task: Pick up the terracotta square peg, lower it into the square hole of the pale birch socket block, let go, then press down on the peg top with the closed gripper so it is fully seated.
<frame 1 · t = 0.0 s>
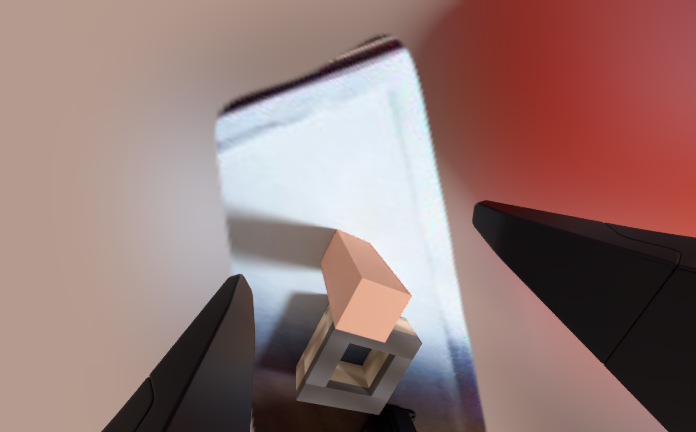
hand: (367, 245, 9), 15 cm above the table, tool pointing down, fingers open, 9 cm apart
square peg: (345, 252, 26), on the table
socket block: (352, 342, 29), on the table
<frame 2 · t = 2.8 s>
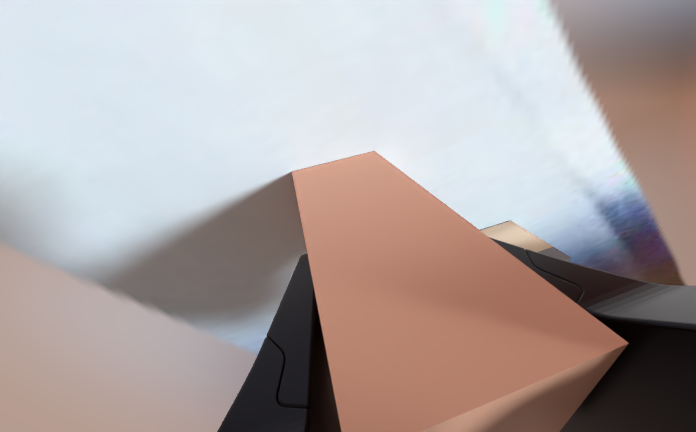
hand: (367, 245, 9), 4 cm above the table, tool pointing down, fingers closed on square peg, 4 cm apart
square peg: (341, 198, 13), on the table, touching gripper
socket block: (441, 293, 19), on the table
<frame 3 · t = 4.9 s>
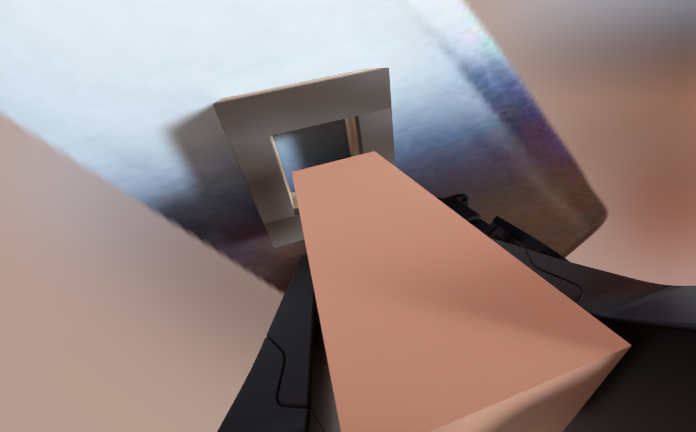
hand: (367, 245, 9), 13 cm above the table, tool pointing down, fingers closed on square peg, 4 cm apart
square peg: (341, 198, 12), point 9 cm above the table, touching gripper
socket block: (315, 152, 20), on the table
when the fingers open (5 cm above the table, at t = 7.3 s): square peg drops 1 cm, resting in socket block.
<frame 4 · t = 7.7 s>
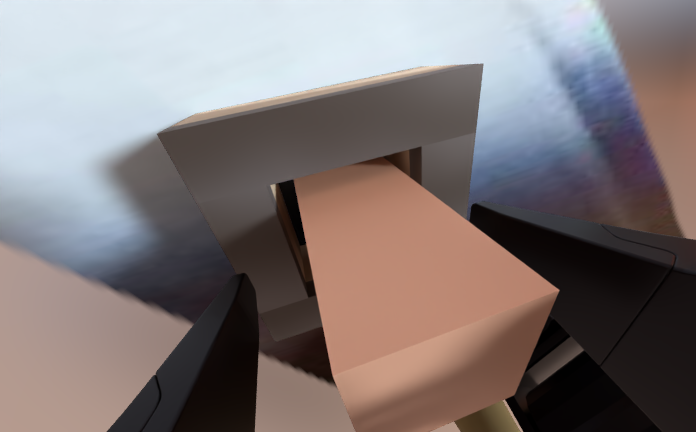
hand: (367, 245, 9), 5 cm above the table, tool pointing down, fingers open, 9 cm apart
square peg: (337, 190, 13), resting in socket block
socket block: (337, 191, 13), on the table
beige pepper mill: (446, 358, 27), on the table
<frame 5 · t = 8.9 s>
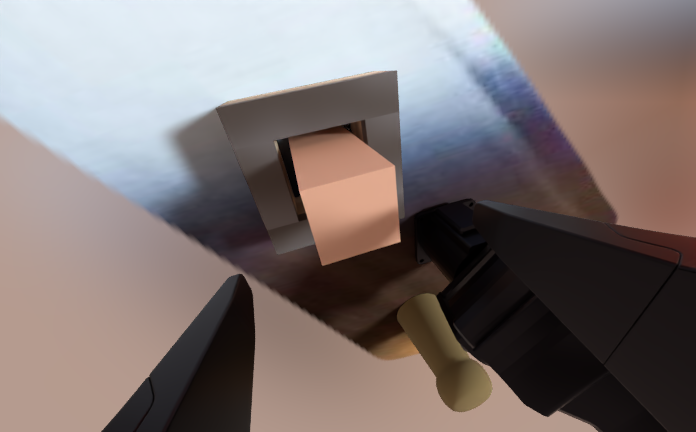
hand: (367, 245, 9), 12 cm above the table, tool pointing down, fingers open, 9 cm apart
square peg: (320, 156, 19), resting in socket block
socket block: (320, 156, 19), on the table
beige pepper mill: (417, 309, 33), on the table
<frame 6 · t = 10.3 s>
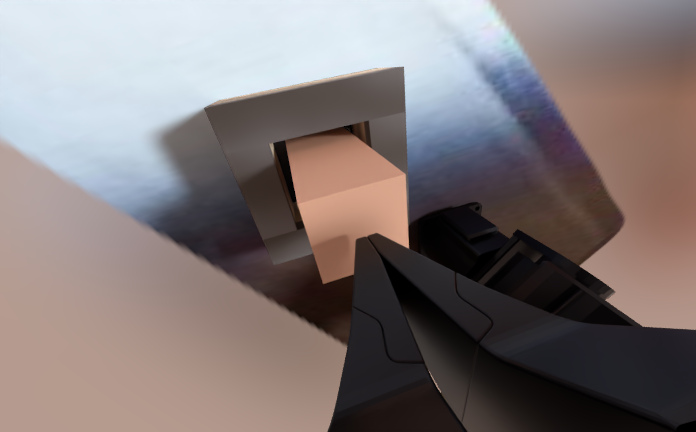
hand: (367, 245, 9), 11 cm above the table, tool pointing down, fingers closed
square peg: (319, 159, 18), resting in socket block
socket block: (319, 159, 18), on the table
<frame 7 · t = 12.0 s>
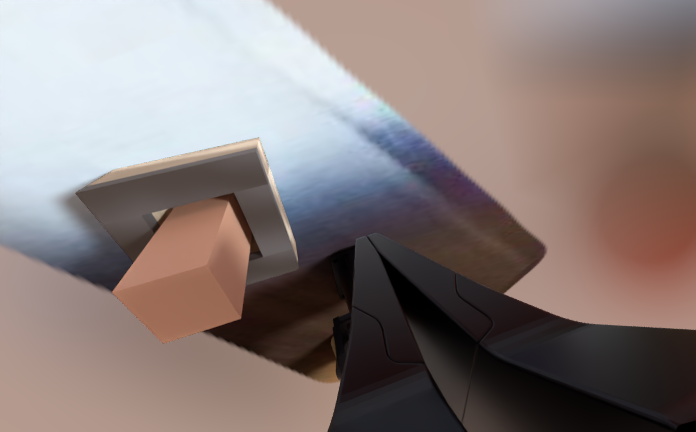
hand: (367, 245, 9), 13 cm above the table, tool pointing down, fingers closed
square peg: (220, 211, 20), resting in socket block
socket block: (219, 211, 20), on the table
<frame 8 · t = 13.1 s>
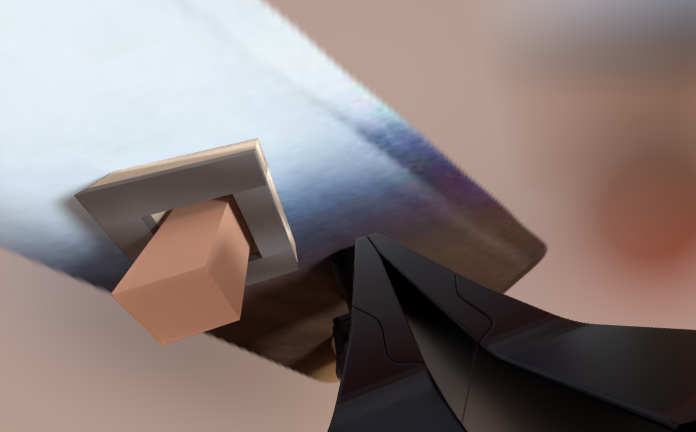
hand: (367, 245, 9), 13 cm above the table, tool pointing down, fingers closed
square peg: (219, 212, 20), resting in socket block
socket block: (218, 212, 20), on the table
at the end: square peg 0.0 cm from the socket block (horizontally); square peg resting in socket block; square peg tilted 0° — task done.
